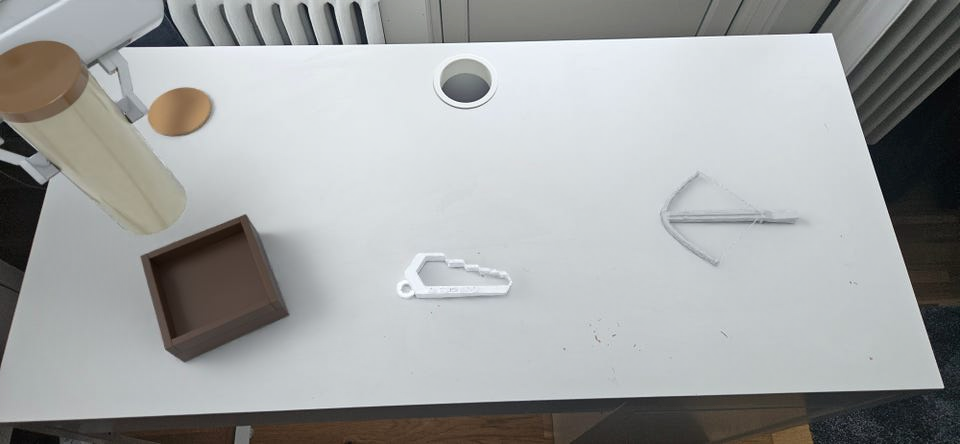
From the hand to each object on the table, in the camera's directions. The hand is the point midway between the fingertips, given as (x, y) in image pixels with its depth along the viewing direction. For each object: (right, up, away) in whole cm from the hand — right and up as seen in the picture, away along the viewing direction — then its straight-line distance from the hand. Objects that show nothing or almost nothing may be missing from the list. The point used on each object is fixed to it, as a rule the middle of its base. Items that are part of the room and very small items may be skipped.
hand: (98, 146), depth 43 cm
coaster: (-12, +9, +36) cm, 39 cm away
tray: (-1, -13, +24) cm, 27 cm away
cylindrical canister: (-1, -4, +8) cm, 9 cm away
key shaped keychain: (+25, -12, +25) cm, 37 cm away
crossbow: (+58, -5, +30) cm, 65 cm away
